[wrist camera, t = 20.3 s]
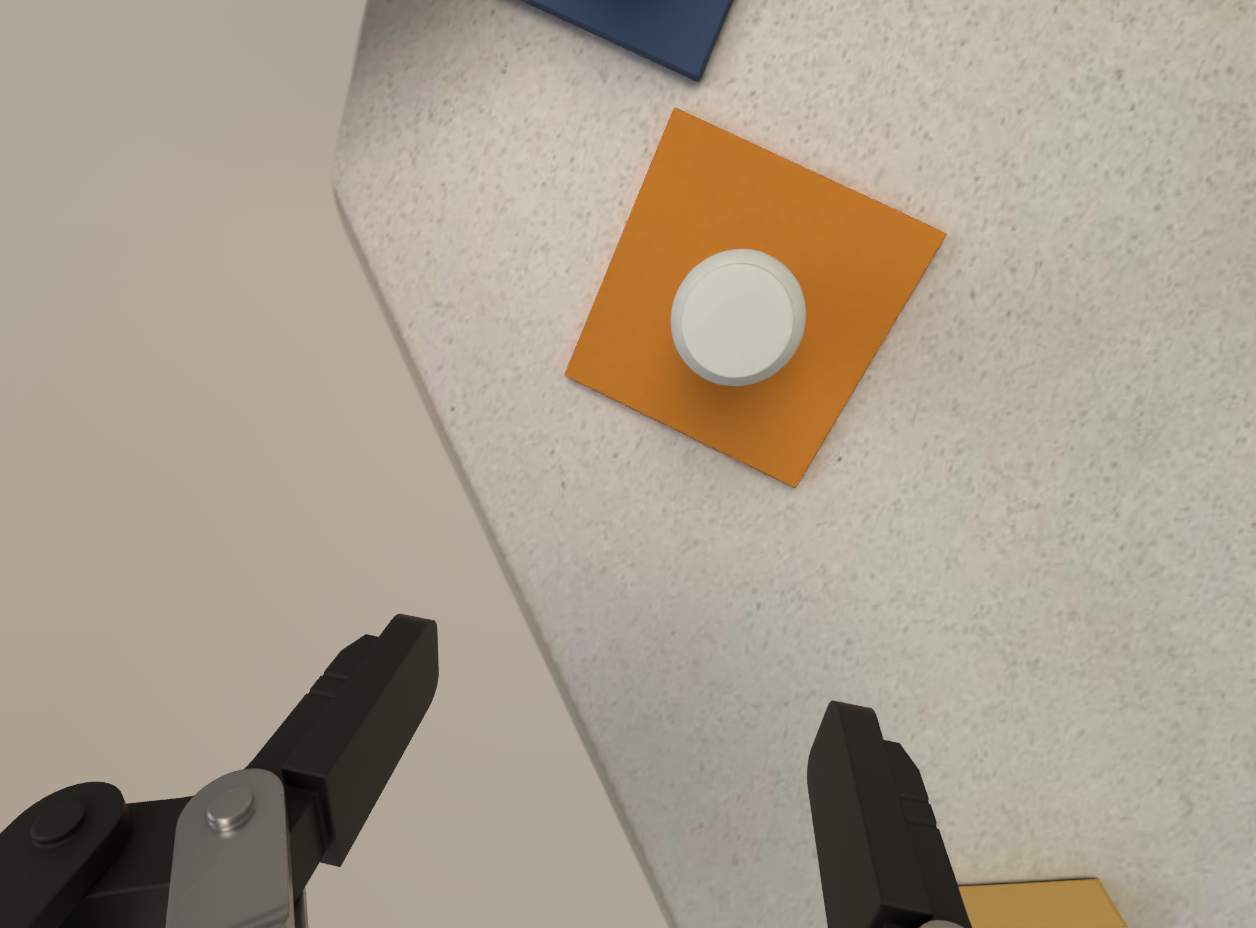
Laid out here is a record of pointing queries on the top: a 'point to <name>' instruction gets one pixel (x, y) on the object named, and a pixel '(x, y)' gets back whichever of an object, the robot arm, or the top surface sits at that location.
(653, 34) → the blue mat
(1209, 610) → the top surface
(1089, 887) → the rubber stamp
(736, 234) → the amber mat
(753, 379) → the pill bottle
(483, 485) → the top surface
